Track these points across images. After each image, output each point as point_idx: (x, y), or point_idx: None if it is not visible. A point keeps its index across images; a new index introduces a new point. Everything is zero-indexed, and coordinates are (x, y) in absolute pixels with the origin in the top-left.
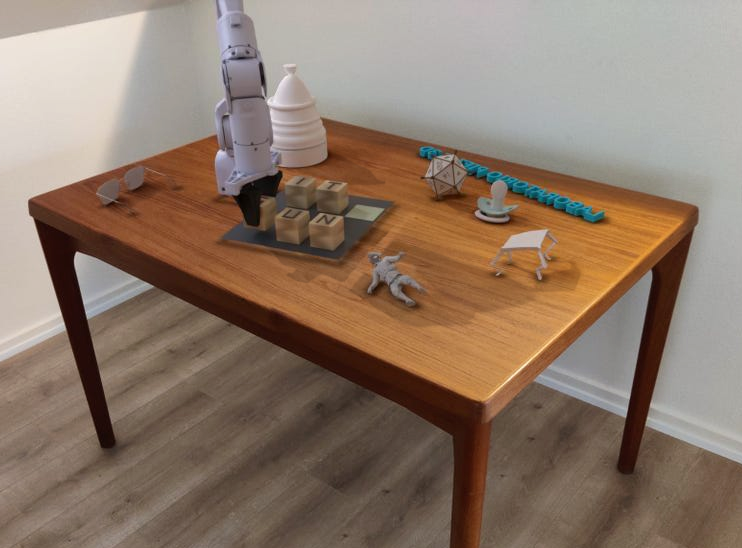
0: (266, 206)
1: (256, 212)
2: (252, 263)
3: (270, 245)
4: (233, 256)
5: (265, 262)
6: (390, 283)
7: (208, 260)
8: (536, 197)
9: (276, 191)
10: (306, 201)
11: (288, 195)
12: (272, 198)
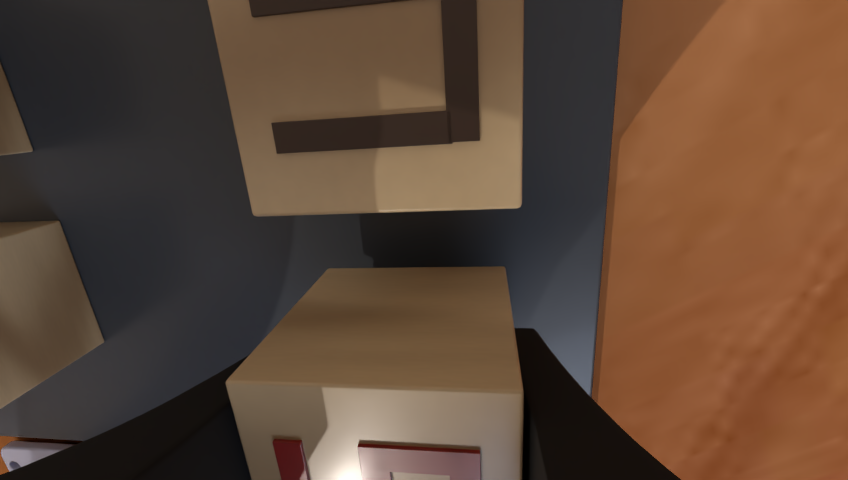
0: (437, 373)
1: (595, 404)
2: (777, 180)
3: (587, 167)
4: (707, 327)
5: (744, 107)
6: None
7: (788, 418)
8: None
9: (131, 427)
10: (5, 238)
11: (32, 366)
12: (263, 398)
